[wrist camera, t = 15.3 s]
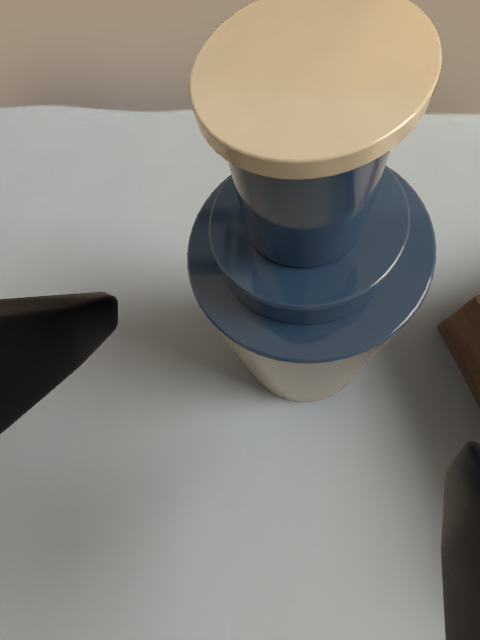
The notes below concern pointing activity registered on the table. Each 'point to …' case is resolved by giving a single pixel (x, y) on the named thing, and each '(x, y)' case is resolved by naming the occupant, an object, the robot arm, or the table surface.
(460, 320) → the wooden box
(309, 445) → the table surface
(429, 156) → the table surface
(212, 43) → the bottle
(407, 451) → the table surface
